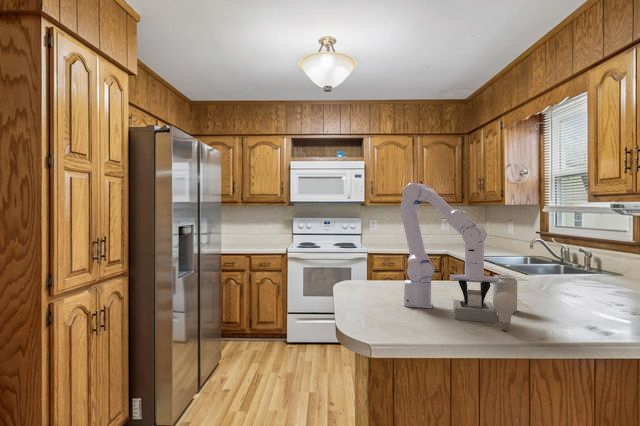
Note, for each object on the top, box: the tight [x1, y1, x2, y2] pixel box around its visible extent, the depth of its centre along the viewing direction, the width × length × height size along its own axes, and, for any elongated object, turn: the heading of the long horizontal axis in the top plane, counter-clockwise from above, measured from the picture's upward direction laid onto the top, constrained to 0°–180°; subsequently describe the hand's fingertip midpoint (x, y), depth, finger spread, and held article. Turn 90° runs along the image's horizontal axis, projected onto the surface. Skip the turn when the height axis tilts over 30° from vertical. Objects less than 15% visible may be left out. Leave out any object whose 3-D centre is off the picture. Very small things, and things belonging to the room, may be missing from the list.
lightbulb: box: [492, 292, 518, 332], centre depth 104 cm, size 6×6×11 cm
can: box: [492, 274, 518, 313], centre depth 126 cm, size 8×8×12 cm
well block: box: [452, 298, 498, 324], centre depth 119 cm, size 12×12×4 cm
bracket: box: [467, 288, 482, 309], centre depth 119 cm, size 4×5×7 cm
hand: (473, 304), depth 119 cm, fingers closed on bracket, 4 cm apart
